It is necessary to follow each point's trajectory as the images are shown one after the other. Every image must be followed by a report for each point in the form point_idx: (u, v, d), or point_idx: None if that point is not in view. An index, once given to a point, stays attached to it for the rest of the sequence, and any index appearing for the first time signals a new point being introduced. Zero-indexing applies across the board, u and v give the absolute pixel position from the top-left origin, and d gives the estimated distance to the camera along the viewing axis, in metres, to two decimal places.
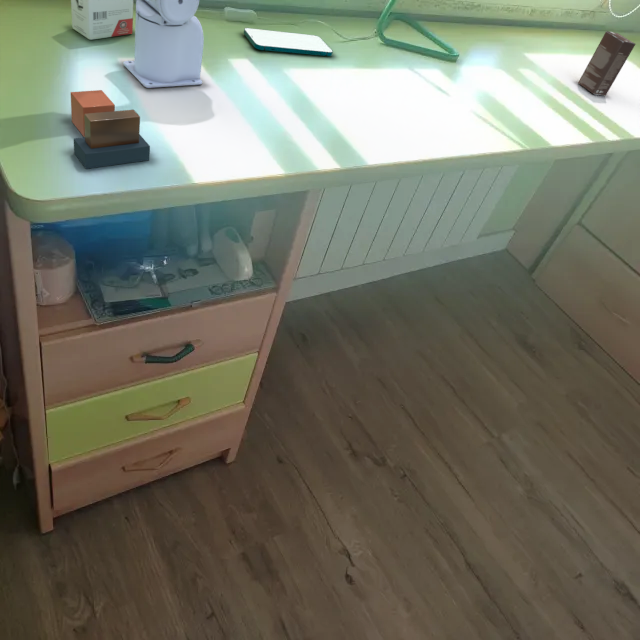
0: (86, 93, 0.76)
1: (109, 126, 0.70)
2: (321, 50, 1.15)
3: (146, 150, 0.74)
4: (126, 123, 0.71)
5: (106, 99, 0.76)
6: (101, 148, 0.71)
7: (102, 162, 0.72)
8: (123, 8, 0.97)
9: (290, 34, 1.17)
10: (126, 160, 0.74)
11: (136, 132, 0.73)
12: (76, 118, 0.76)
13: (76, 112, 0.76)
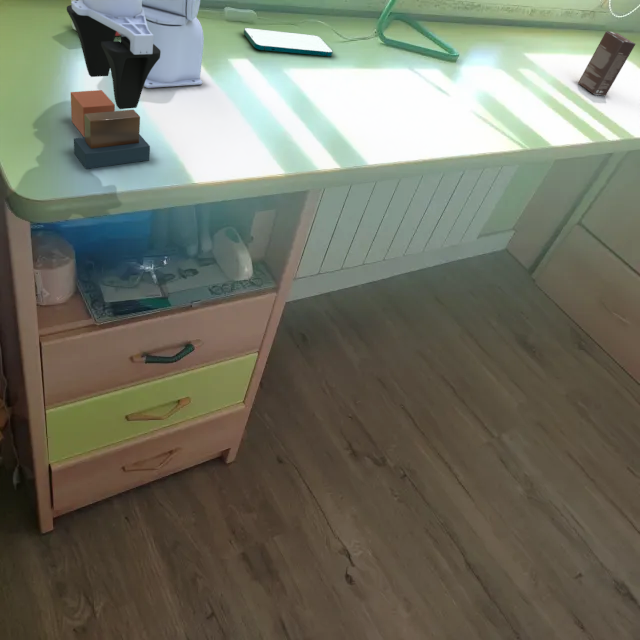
0: (86, 93, 0.76)
1: (109, 126, 0.70)
2: (321, 50, 1.15)
3: (146, 150, 0.74)
4: (126, 123, 0.71)
5: (106, 99, 0.76)
6: (101, 148, 0.71)
7: (102, 162, 0.72)
8: None
9: (290, 34, 1.17)
10: (126, 160, 0.74)
11: (136, 132, 0.73)
12: (76, 118, 0.76)
13: (76, 112, 0.76)
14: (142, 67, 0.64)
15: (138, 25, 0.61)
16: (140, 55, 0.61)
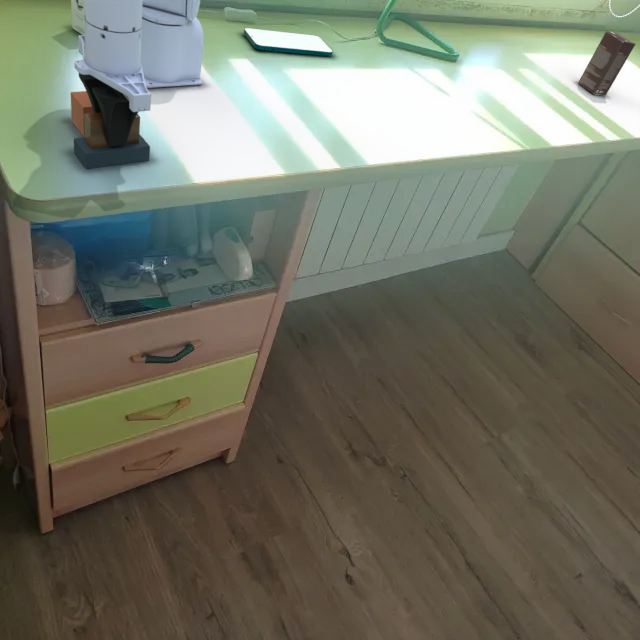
0: (86, 93, 0.76)
1: None
2: (321, 50, 1.15)
3: (146, 150, 0.74)
4: None
5: None
6: (101, 148, 0.71)
7: (102, 162, 0.72)
8: None
9: (290, 34, 1.17)
10: (126, 160, 0.74)
11: (136, 132, 0.73)
12: (76, 118, 0.76)
13: (76, 112, 0.76)
14: (130, 109, 0.69)
15: (137, 83, 0.65)
16: (128, 99, 0.67)
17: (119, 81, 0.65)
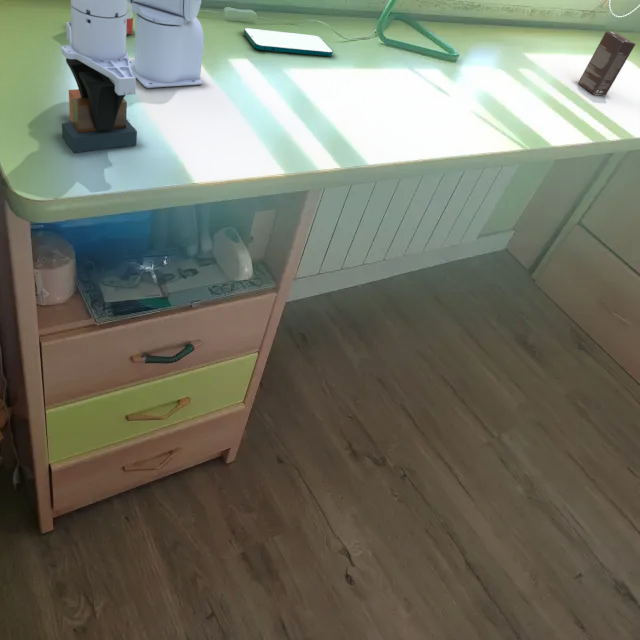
0: None
1: None
2: (321, 50, 1.15)
3: (133, 135, 0.76)
4: None
5: None
6: (88, 133, 0.73)
7: (90, 146, 0.74)
8: None
9: (290, 34, 1.17)
10: (113, 145, 0.75)
11: (123, 117, 0.75)
12: None
13: None
14: (117, 94, 0.71)
15: (122, 68, 0.66)
16: (114, 84, 0.68)
17: (105, 65, 0.67)
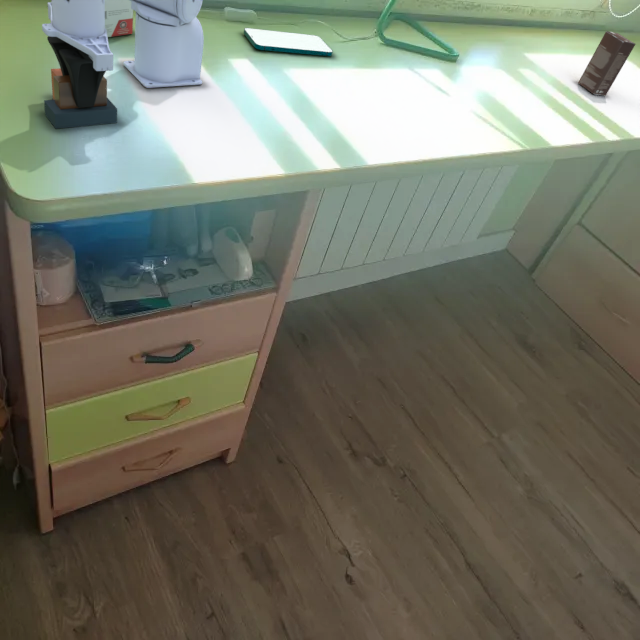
0: None
1: None
2: (321, 50, 1.15)
3: (114, 113, 0.79)
4: None
5: None
6: (70, 109, 0.76)
7: (71, 122, 0.76)
8: (123, 8, 0.97)
9: (290, 34, 1.17)
10: (94, 122, 0.78)
11: (103, 95, 0.78)
12: None
13: None
14: (96, 71, 0.74)
15: (100, 45, 0.69)
16: None
17: (84, 43, 0.69)
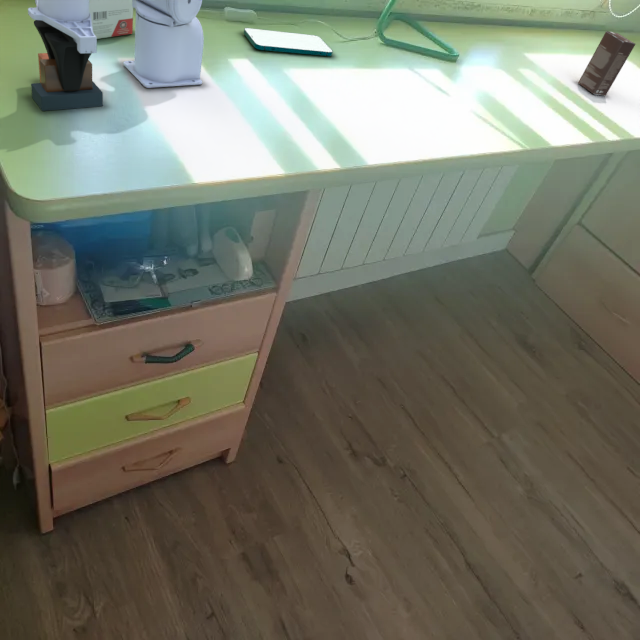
0: None
1: None
2: (321, 50, 1.15)
3: (99, 96, 0.81)
4: None
5: None
6: (56, 92, 0.78)
7: (58, 105, 0.79)
8: (123, 8, 0.97)
9: (290, 34, 1.17)
10: (80, 105, 0.80)
11: (89, 79, 0.80)
12: None
13: None
14: (81, 55, 0.76)
15: (84, 28, 0.71)
16: None
17: (68, 26, 0.72)
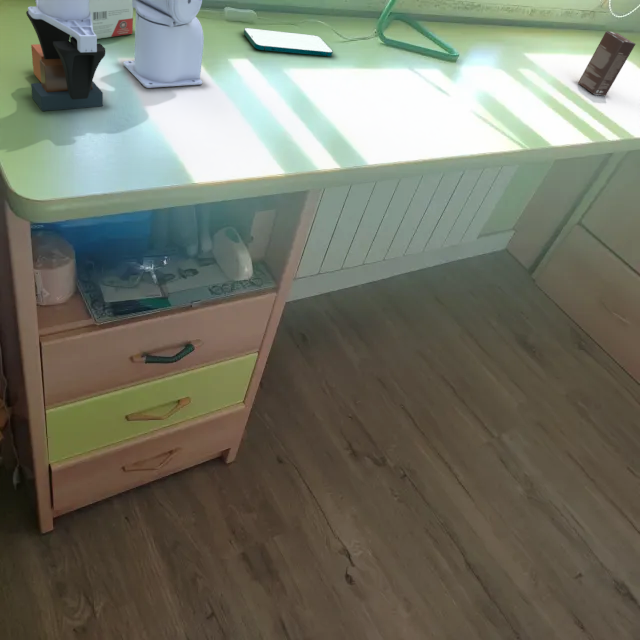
0: None
1: (63, 71, 0.77)
2: (321, 50, 1.15)
3: (99, 96, 0.81)
4: None
5: None
6: (56, 92, 0.78)
7: (57, 105, 0.79)
8: (123, 8, 0.97)
9: (290, 34, 1.17)
10: (80, 105, 0.80)
11: None
12: (37, 69, 0.82)
13: (36, 62, 0.82)
14: (90, 63, 0.74)
15: (84, 27, 0.71)
16: (87, 53, 0.72)
17: (69, 25, 0.72)
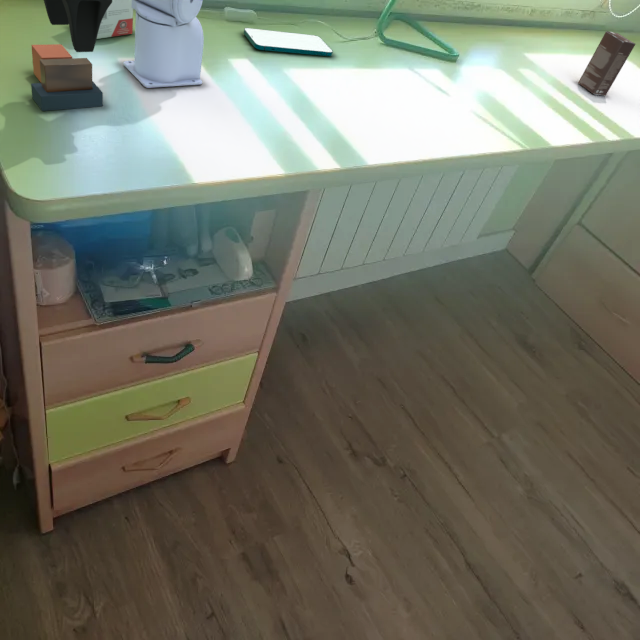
0: (46, 46, 0.82)
1: (63, 71, 0.77)
2: (321, 50, 1.15)
3: (99, 96, 0.81)
4: (79, 69, 0.78)
5: (65, 52, 0.82)
6: (56, 92, 0.78)
7: (57, 105, 0.79)
8: (123, 8, 0.97)
9: (290, 34, 1.17)
10: (80, 105, 0.80)
11: (89, 79, 0.80)
12: (37, 69, 0.82)
13: (36, 63, 0.82)
14: (96, 11, 0.69)
15: None
16: None
17: None
